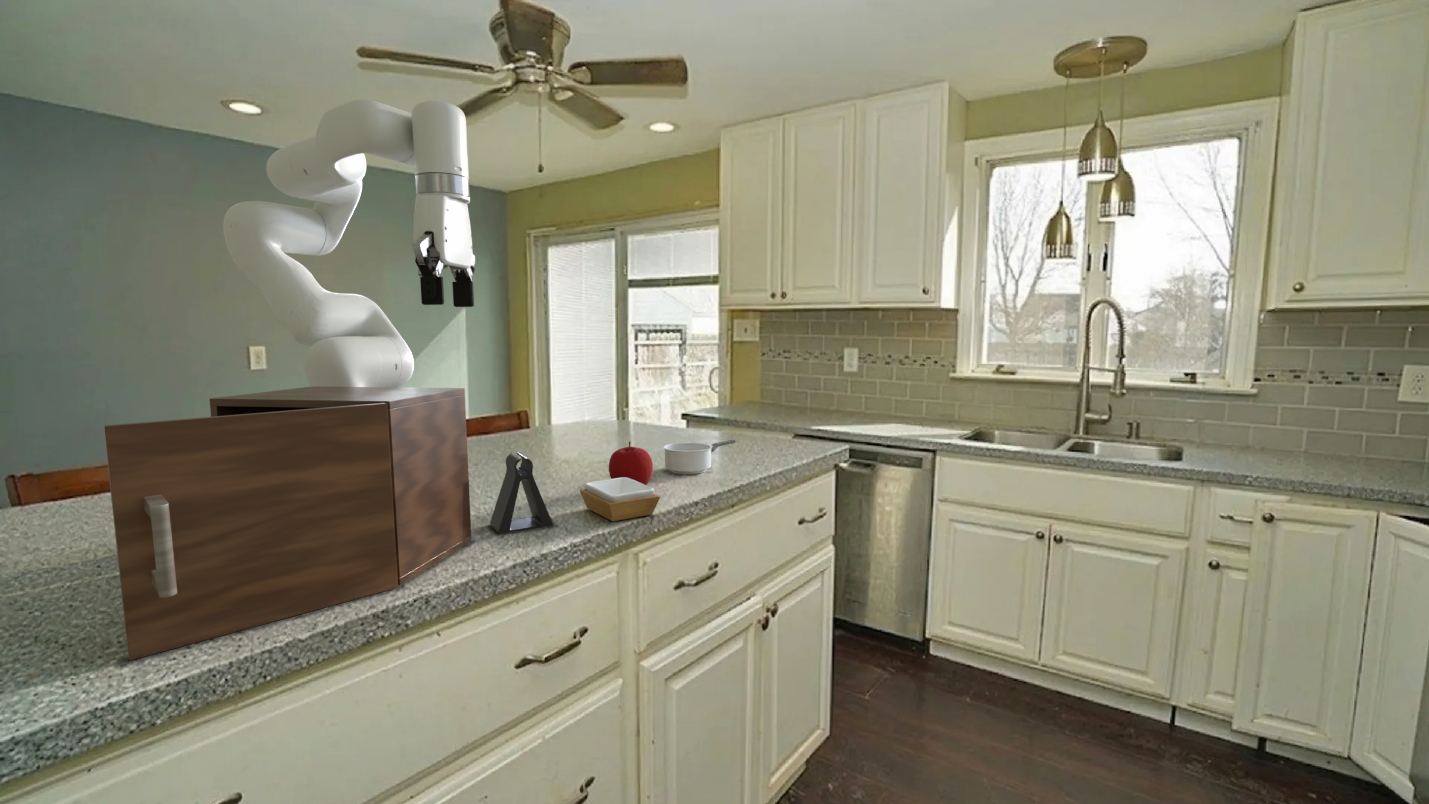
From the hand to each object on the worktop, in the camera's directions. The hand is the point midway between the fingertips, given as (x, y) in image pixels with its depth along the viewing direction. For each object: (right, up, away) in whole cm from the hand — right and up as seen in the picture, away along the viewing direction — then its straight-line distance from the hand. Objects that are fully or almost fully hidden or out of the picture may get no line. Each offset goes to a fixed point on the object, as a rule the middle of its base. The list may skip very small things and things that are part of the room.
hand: (449, 305), depth 103 cm
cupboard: (-11, -37, -5) cm, 39 cm away
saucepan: (+38, -31, +55) cm, 74 cm away
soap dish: (+24, -35, +17) cm, 46 cm away
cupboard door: (-7, -40, -28) cm, 49 cm away
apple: (+24, -33, +36) cm, 54 cm away
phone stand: (+8, -36, +10) cm, 38 cm away
